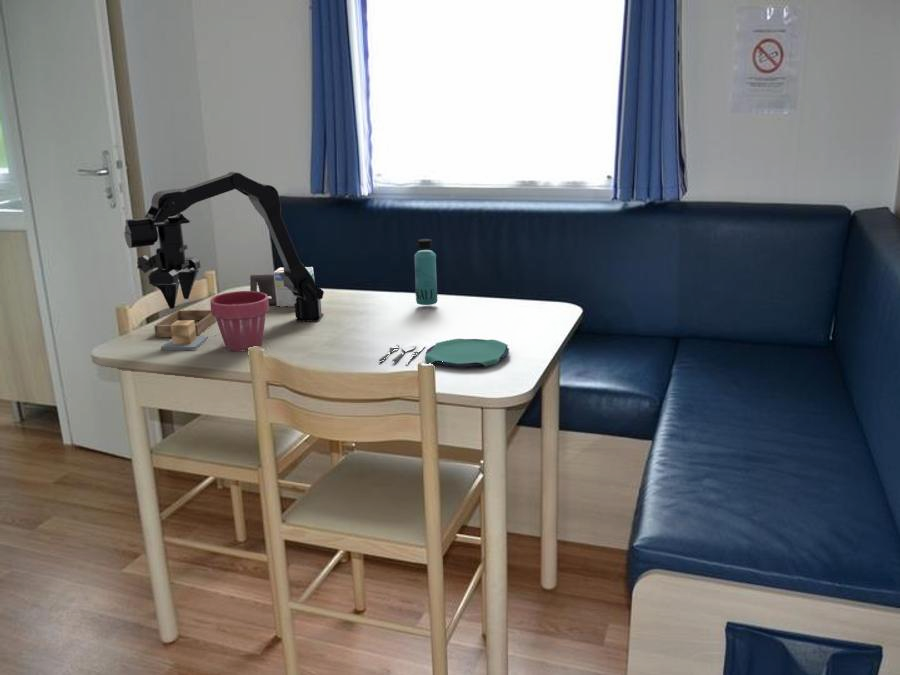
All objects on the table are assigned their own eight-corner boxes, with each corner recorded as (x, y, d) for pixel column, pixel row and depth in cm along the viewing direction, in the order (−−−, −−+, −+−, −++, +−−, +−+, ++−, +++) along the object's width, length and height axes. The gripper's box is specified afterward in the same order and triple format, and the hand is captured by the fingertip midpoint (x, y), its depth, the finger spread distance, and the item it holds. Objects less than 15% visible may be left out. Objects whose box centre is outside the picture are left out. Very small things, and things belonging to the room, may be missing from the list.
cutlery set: (500, 374, 184) (499, 364, 183) (374, 368, 192) (373, 359, 191) (516, 347, 202) (516, 338, 202) (400, 343, 210) (400, 334, 209)
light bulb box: (316, 301, 250) (314, 266, 246) (311, 307, 243) (308, 271, 240) (282, 301, 251) (279, 266, 247) (276, 307, 244) (272, 271, 241)
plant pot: (284, 343, 210) (279, 295, 206) (238, 358, 199) (232, 307, 196) (249, 334, 218) (244, 287, 215) (204, 347, 208) (198, 299, 204)
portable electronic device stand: (248, 306, 246) (245, 279, 243) (254, 299, 253) (251, 273, 251) (278, 305, 246) (275, 278, 243) (283, 299, 253) (280, 272, 251)
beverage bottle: (430, 303, 243) (428, 236, 237) (442, 307, 238) (440, 239, 232) (411, 306, 240) (408, 239, 234) (423, 311, 234) (420, 242, 228)
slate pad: (208, 339, 215) (208, 336, 215) (195, 349, 207) (195, 346, 207) (175, 339, 216) (175, 336, 216) (161, 350, 208) (160, 347, 207)
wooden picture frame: (218, 319, 233) (217, 309, 232) (198, 336, 218) (196, 325, 217) (178, 320, 234) (177, 310, 233) (155, 336, 219) (154, 326, 218)
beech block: (196, 338, 213) (194, 320, 212) (190, 344, 209) (187, 325, 208) (179, 338, 214) (177, 320, 212) (173, 344, 209) (170, 325, 208)
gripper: (155, 236, 213) (163, 294, 218) (122, 250, 195) (132, 313, 200) (197, 235, 212) (204, 294, 217) (168, 250, 194) (176, 313, 199)
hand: (179, 303), depth 208 cm, fingers open, 9 cm apart
